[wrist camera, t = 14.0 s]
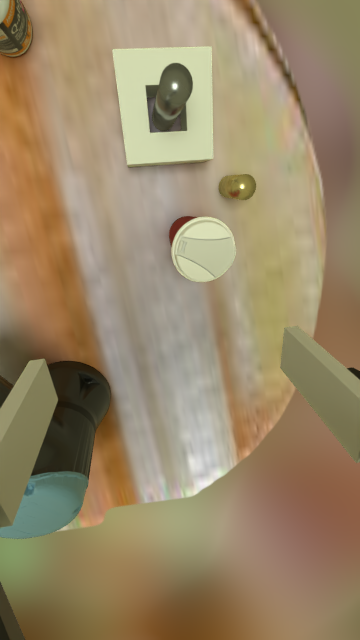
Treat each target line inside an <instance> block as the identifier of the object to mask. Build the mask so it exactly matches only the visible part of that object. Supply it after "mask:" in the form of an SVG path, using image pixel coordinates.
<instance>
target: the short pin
mask: <svg viewBox="0 0 360 640" xmlns="http://www.w3.org/2000/svg"><path fill="white" fill-rule="evenodd" d="M255 190H256V182H255V180H254V178H253V177H252V176H251V175H248V174H243V175H231V176H225V177H224V178H222V179H221V181H220V183H219V192H220V194H221V195H222V196H223V197H226V198H233V199H240V200H247V199H249V198H250V197H252V195H253V194H254V192H255Z"/></svg>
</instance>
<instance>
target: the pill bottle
mask: <svg viewBox="0 0 360 640" xmlns="http://www.w3.org/2000/svg"><path fill="white" fill-rule="evenodd" d="M31 39H32V26H31V21H30V18H29V15H28V13H27V11H26V9H25V7H24V5H23V4H22V2H21V1H20V0H0V53H1V54H3V55H6V56H10V57H15V56H19V55H21V54H23V53H24V52H25V51H26V50H27V49H28V47H29V45H30V43H31Z"/></svg>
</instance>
